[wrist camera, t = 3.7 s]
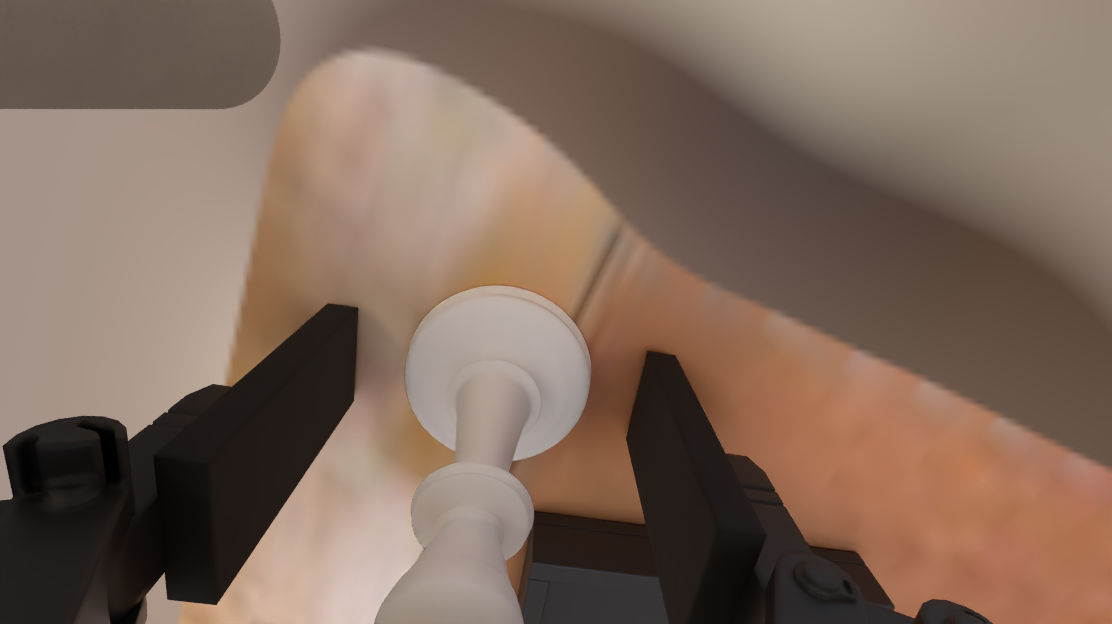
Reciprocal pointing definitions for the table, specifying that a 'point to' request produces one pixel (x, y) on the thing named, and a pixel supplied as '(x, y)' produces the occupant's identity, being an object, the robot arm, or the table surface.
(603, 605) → the charcoal tray
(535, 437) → the chess piece
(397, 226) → the table surface
